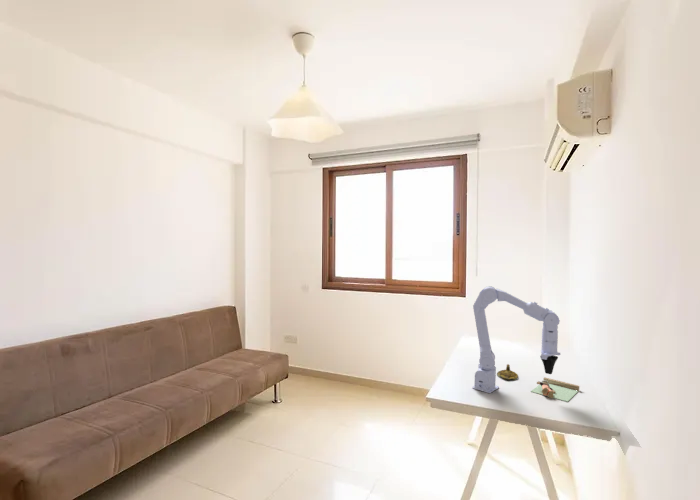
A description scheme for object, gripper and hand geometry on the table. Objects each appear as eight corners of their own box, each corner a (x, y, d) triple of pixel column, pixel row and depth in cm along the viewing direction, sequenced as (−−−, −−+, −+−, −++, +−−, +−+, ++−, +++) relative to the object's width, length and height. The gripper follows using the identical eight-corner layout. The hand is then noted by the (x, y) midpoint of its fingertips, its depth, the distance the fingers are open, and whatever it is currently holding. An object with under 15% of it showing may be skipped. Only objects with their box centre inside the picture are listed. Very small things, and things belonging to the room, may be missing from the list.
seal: (518, 385, 168) (517, 375, 182) (520, 375, 168) (518, 365, 182) (496, 380, 172) (497, 369, 185) (498, 370, 171) (498, 360, 185)
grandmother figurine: (551, 402, 151) (549, 392, 162) (558, 395, 150) (555, 386, 162) (535, 388, 154) (533, 380, 165) (541, 382, 153) (539, 374, 164)
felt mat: (567, 402, 147) (567, 401, 147) (530, 391, 157) (530, 391, 157) (578, 391, 159) (578, 390, 159) (543, 382, 169) (543, 382, 169)
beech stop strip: (578, 391, 159) (578, 386, 159) (543, 382, 169) (543, 378, 169) (579, 390, 160) (579, 385, 160) (544, 381, 170) (544, 377, 170)
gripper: (555, 345, 144) (554, 380, 144) (565, 339, 154) (564, 371, 154) (535, 342, 149) (534, 375, 149) (547, 336, 159) (546, 367, 159)
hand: (548, 373), depth 152 cm, fingers closed
